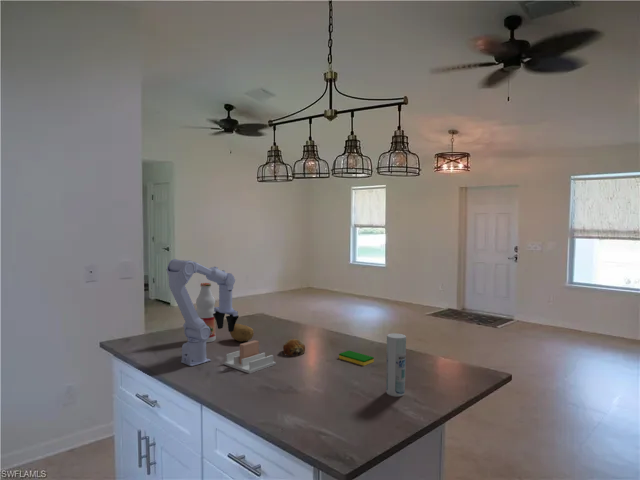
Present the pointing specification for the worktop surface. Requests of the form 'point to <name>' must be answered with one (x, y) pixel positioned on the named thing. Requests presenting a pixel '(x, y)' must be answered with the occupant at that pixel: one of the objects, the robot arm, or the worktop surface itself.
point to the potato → (242, 332)
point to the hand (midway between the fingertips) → (225, 329)
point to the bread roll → (294, 347)
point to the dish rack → (249, 362)
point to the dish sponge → (356, 358)
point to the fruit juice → (207, 309)
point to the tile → (249, 349)
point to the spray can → (396, 364)
